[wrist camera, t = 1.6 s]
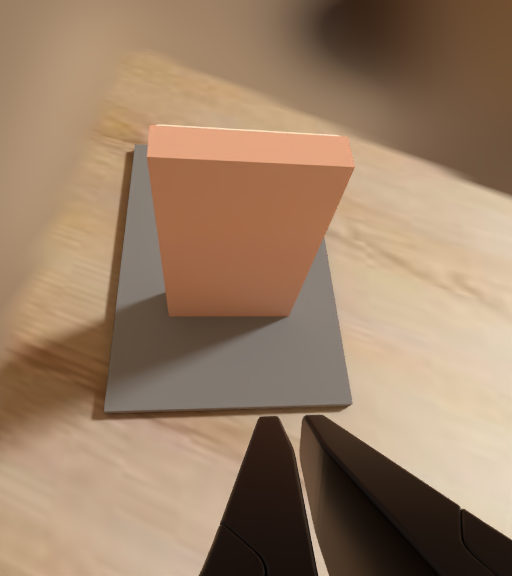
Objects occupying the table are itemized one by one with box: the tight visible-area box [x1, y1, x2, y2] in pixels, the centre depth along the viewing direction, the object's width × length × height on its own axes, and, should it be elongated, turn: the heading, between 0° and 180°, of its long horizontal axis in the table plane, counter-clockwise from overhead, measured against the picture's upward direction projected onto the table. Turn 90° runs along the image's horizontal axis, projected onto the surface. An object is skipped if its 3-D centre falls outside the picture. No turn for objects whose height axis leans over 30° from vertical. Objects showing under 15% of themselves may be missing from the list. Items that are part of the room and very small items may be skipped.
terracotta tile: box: [147, 124, 355, 317], centre depth 19 cm, size 2×7×12 cm, turn 93°
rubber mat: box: [104, 144, 352, 414], centre depth 27 cm, size 19×13×1 cm
